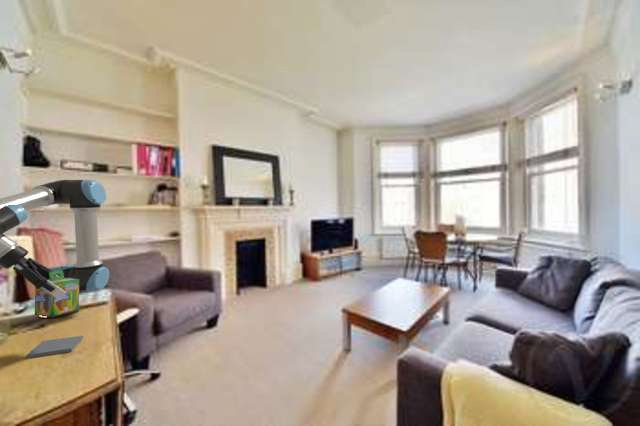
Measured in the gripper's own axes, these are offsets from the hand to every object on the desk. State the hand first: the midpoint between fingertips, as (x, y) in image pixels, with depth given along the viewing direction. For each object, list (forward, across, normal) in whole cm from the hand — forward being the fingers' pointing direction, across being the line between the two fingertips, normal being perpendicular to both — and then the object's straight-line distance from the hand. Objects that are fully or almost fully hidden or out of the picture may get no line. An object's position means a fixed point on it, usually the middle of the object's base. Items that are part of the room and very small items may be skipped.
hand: (65, 291), depth 109 cm
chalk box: (+4, 0, -7) cm, 8 cm away
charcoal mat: (+12, 0, -16) cm, 20 cm away
